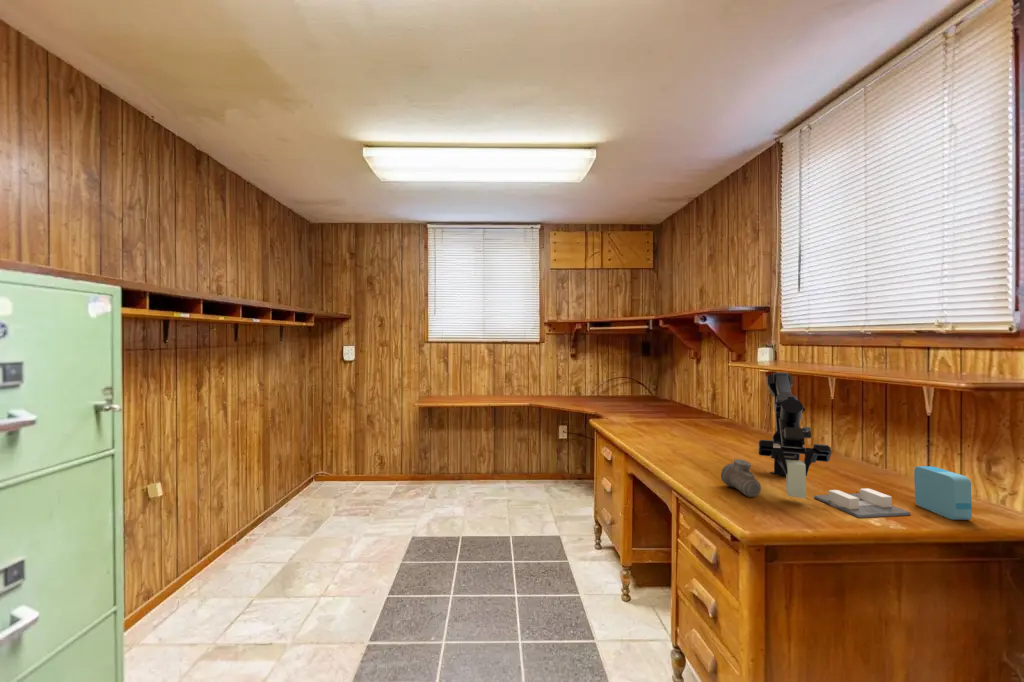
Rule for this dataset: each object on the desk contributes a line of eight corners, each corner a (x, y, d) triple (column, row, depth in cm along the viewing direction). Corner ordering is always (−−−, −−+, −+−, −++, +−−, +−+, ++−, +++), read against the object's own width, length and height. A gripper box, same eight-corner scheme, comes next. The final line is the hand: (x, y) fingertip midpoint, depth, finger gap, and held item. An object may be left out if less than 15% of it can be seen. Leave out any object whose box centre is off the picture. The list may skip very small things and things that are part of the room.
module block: (786, 491, 128) (785, 459, 128) (803, 493, 126) (803, 461, 126) (788, 496, 124) (787, 463, 124) (806, 498, 122) (805, 465, 122)
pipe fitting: (718, 484, 141) (722, 455, 140) (740, 485, 142) (744, 457, 141) (739, 501, 129) (743, 470, 128) (763, 502, 130) (768, 471, 129)
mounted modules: (849, 509, 118) (849, 498, 118) (828, 500, 125) (828, 490, 125) (891, 506, 119) (891, 496, 119) (868, 498, 126) (868, 488, 126)
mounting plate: (858, 517, 114) (858, 514, 114) (814, 498, 129) (814, 495, 129) (910, 515, 115) (910, 512, 115) (860, 495, 130) (860, 493, 130)
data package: (972, 522, 110) (971, 477, 111) (954, 521, 111) (953, 477, 111) (930, 504, 122) (929, 464, 123) (914, 504, 123) (913, 464, 123)
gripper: (758, 414, 133) (761, 457, 123) (829, 419, 124) (839, 464, 115) (757, 434, 140) (760, 475, 130) (824, 439, 131) (833, 484, 121)
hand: (796, 474), depth 124 cm, fingers closed on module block, 4 cm apart
